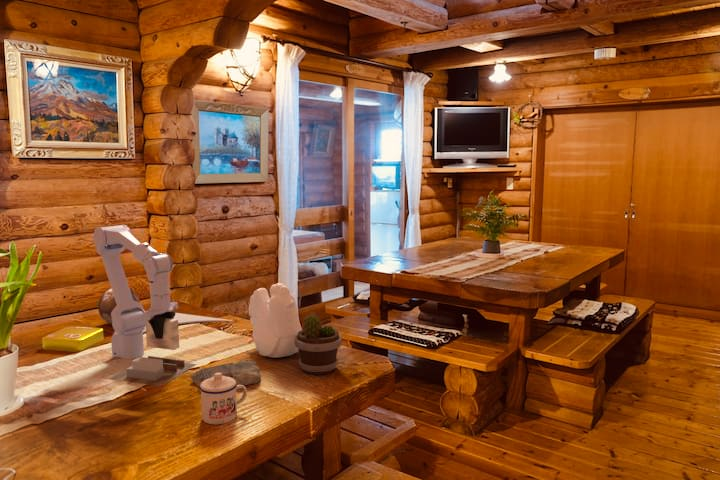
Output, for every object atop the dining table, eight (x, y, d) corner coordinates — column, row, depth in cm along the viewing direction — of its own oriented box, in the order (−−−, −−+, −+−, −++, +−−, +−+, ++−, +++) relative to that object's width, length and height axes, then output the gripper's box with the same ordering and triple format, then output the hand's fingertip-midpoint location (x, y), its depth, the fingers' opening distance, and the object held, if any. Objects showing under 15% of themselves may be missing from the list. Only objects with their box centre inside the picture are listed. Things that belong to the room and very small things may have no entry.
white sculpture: (312, 358, 187) (311, 284, 183) (267, 367, 179) (265, 290, 175) (282, 337, 208) (280, 270, 204) (240, 344, 200) (238, 275, 196)
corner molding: (232, 324, 229) (162, 314, 233) (232, 320, 229) (162, 311, 233) (201, 356, 200) (122, 344, 204) (201, 351, 200) (122, 340, 204)
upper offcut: (132, 369, 167) (131, 361, 167) (140, 364, 171) (140, 356, 170) (155, 372, 165) (154, 363, 165) (163, 367, 168) (162, 359, 168)
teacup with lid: (208, 429, 138) (206, 383, 136) (196, 414, 146) (194, 371, 144) (254, 416, 145) (252, 373, 143) (240, 403, 152) (239, 362, 151)
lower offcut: (126, 376, 168) (126, 368, 168) (135, 371, 172) (135, 363, 172) (155, 380, 165) (154, 372, 165) (163, 375, 169) (163, 367, 169)
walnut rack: (108, 382, 167) (107, 372, 166) (148, 361, 184) (148, 352, 183) (160, 389, 161) (160, 379, 161) (196, 367, 178) (196, 358, 178)
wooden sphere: (91, 329, 217) (88, 290, 215) (112, 318, 232) (110, 282, 230) (128, 330, 216) (126, 292, 213) (147, 319, 230) (145, 283, 228)
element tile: (106, 339, 207) (105, 326, 206) (79, 353, 192) (78, 339, 192) (69, 336, 210) (68, 324, 209) (40, 350, 195) (38, 337, 194)
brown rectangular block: (146, 346, 176) (145, 318, 175) (152, 344, 179) (150, 316, 177) (174, 350, 173) (172, 321, 172) (179, 347, 176) (177, 319, 174)
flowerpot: (314, 357, 187) (313, 298, 184) (352, 367, 178) (352, 305, 175) (284, 370, 175) (283, 308, 172) (322, 382, 167) (322, 316, 164)
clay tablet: (193, 396, 158) (264, 385, 165) (192, 379, 157) (264, 369, 164) (189, 379, 171) (255, 369, 178) (188, 363, 170) (254, 354, 177)
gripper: (155, 300, 165) (158, 345, 167) (185, 289, 179) (187, 331, 181) (135, 298, 168) (138, 343, 170) (166, 287, 181) (168, 329, 183)
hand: (162, 336), depth 176 cm, fingers closed on brown rectangular block, 2 cm apart
